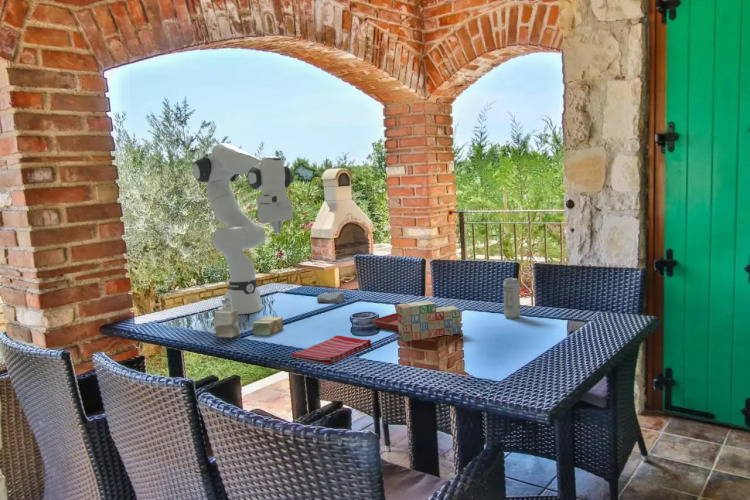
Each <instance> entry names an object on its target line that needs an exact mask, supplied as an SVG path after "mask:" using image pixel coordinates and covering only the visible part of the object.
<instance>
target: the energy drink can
mask: <svg viewBox="0 0 750 500" xmlns="http://www.w3.org/2000/svg"><path fill="white" fill-rule="evenodd" d="M502 284H503V288H502V289H503V315H504V317H505V318H506V319H511V320H515V319H518V318H519V317H520V316H521V302H520V301H521V298H520V297H521V296H520V294H521V292H520V282H519V280H518V278H517V277H507V278H504V281H503V283H502Z"/></svg>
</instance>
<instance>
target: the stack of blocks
mask: <svg viewBox="0 0 750 500" xmlns="http://www.w3.org/2000/svg"><path fill="white" fill-rule="evenodd" d="M396 308H397V309H396V310H397V312H398V313H397V312H396V313H397V318H398V329H399V330H398V331H397V332H398V338H399V339H400V340H401V341H403V342H404V343H405V341H406V342H412V340H414V341H417V340H416V339H422V340H424V339H423V338H427V337H430V336H435V335H436V336H437V335H450V336H454V335H453V334H458V335H462V331H461V330H462V329H461V328H462V327H461V322H462V321H461V311H460V308H458V307H456V306H454V305H449V306H441V307H437V305H436V303H435V302H433V301H431V300H421V301H414V302H408V303H399V304H396Z"/></svg>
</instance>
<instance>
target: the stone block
mask: <svg viewBox="0 0 750 500" xmlns="http://www.w3.org/2000/svg"><path fill="white" fill-rule="evenodd" d="M342 300H343V301H344V300H345V294H344V292H342V291H334V292H328V291H327V292H323V293H320V294H319V295H317V299H316V301H317V302H318V303H322V302H324V303H326V304H339V303H341V301H342ZM343 301H342V302H343ZM338 302H339V303H338ZM324 303H323V304H324Z"/></svg>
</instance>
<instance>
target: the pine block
mask: <svg viewBox="0 0 750 500" xmlns="http://www.w3.org/2000/svg"><path fill="white" fill-rule="evenodd" d="M238 315H239V314H238V313H237V310H220V311H219V310H217V311H215V312H214V321H215V332H216V339H219V338H224V339H225V340H234V339H237V338H239V337H240V327H239V316H238ZM238 336H239V337H238ZM224 339H223V340H224Z"/></svg>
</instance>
